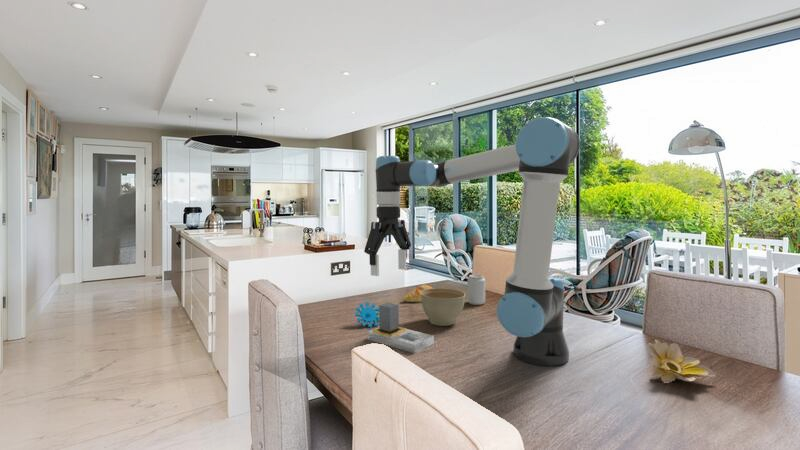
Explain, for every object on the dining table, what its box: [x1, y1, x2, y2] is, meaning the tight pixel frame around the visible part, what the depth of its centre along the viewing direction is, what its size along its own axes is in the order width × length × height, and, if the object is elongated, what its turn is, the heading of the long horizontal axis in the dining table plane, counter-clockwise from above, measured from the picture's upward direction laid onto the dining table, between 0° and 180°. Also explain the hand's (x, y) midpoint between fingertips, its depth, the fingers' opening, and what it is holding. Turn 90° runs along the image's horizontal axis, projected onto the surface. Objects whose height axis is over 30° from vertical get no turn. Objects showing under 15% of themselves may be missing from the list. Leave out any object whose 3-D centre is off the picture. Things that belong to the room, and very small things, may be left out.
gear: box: [354, 301, 379, 329], centre depth 148 cm, size 11×6×10 cm
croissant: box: [402, 284, 434, 303], centre depth 182 cm, size 21×10×8 cm
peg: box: [378, 302, 400, 334], centre depth 133 cm, size 4×4×11 cm
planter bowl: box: [421, 287, 466, 327], centre depth 149 cm, size 16×16×11 cm
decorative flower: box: [646, 339, 716, 383], centre depth 102 cm, size 15×11×10 cm
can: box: [466, 274, 486, 306], centre depth 175 cm, size 8×8×12 cm
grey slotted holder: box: [366, 326, 435, 354], centre depth 130 cm, size 19×10×3 cm, turn 51°
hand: (389, 272), depth 131 cm, fingers open, 13 cm apart
